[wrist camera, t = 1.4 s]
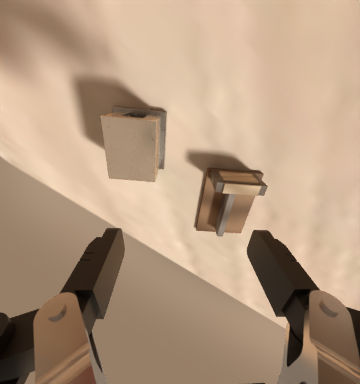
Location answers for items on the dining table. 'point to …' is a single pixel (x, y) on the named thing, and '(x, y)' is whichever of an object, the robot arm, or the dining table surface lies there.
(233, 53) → the dining table surface
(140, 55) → the dining table surface
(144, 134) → the tan wood block
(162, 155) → the brown flat angled piece
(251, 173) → the rack
